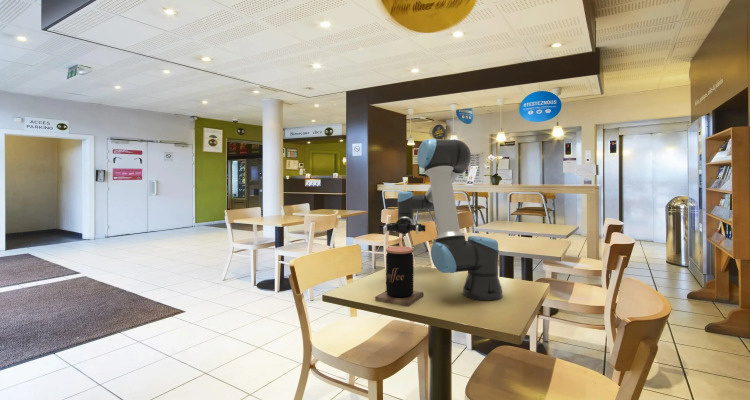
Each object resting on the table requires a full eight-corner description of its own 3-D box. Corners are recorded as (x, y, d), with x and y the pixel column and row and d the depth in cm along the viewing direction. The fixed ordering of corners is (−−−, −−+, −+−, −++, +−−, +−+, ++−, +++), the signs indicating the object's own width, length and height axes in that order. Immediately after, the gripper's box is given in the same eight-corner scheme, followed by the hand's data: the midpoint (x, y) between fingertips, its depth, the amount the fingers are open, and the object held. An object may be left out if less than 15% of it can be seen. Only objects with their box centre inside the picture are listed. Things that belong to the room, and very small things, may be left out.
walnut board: (423, 296, 152) (423, 292, 152) (408, 306, 140) (408, 302, 140) (392, 290, 159) (392, 287, 159) (375, 300, 147) (375, 296, 147)
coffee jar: (380, 294, 150) (380, 248, 149) (399, 288, 157) (399, 245, 156) (400, 300, 142) (399, 252, 141) (419, 294, 149) (419, 248, 148)
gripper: (431, 233, 178) (430, 239, 157) (378, 233, 182) (371, 239, 161) (430, 217, 178) (430, 221, 157) (377, 217, 182) (370, 221, 161)
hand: (400, 230), depth 159 cm, fingers open, 13 cm apart
